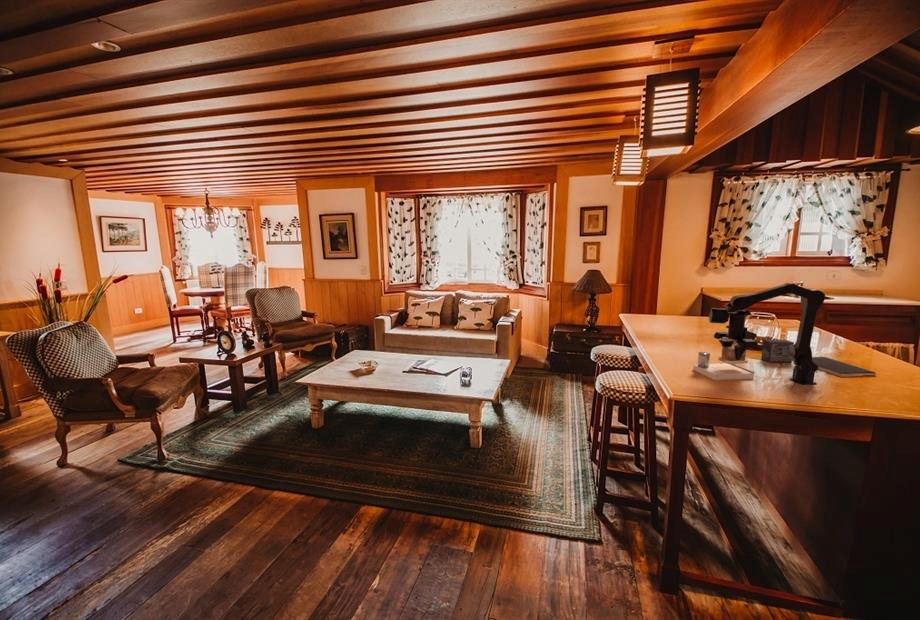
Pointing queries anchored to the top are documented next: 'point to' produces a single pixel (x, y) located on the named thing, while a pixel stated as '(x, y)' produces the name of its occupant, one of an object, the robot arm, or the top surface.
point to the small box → (776, 351)
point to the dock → (725, 371)
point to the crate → (731, 356)
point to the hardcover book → (839, 367)
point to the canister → (703, 359)
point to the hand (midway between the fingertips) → (733, 358)
